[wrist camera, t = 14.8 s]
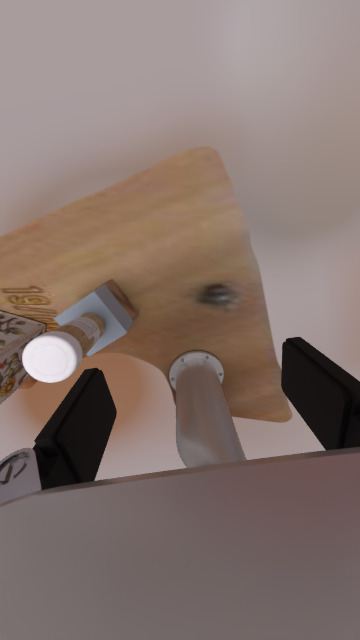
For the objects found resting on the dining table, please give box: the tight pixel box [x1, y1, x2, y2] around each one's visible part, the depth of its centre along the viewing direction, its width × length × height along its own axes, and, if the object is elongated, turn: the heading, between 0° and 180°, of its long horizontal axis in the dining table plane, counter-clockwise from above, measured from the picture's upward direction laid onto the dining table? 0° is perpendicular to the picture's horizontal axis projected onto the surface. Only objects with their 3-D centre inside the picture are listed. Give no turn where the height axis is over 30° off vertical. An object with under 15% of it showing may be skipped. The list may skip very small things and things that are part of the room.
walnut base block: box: [96, 279, 138, 320], centre depth 38 cm, size 8×8×5 cm
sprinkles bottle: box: [22, 313, 105, 383], centre depth 24 cm, size 5×5×13 cm
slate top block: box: [54, 285, 133, 356], centre depth 33 cm, size 8×8×5 cm
